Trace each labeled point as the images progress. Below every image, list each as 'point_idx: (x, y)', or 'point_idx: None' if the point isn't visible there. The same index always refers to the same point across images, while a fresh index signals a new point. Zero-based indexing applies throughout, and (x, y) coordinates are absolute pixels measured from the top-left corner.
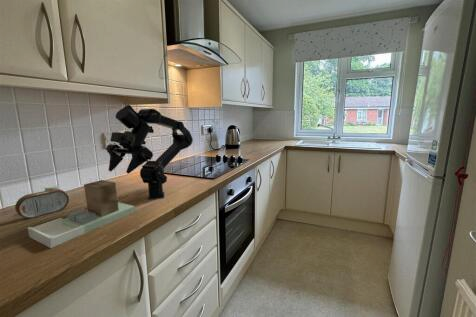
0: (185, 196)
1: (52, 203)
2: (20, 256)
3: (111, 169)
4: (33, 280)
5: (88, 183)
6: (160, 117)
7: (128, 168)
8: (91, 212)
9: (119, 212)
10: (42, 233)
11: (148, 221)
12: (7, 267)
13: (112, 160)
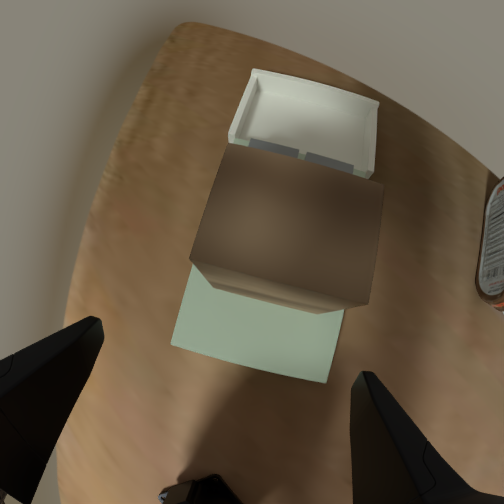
0: (87, 500)
1: (498, 252)
2: (286, 63)
3: (355, 397)
4: (182, 38)
5: (378, 208)
6: None
7: (64, 331)
8: None
9: (192, 267)
10: (297, 79)
11: (78, 265)
12: (267, 44)
13: (398, 461)
